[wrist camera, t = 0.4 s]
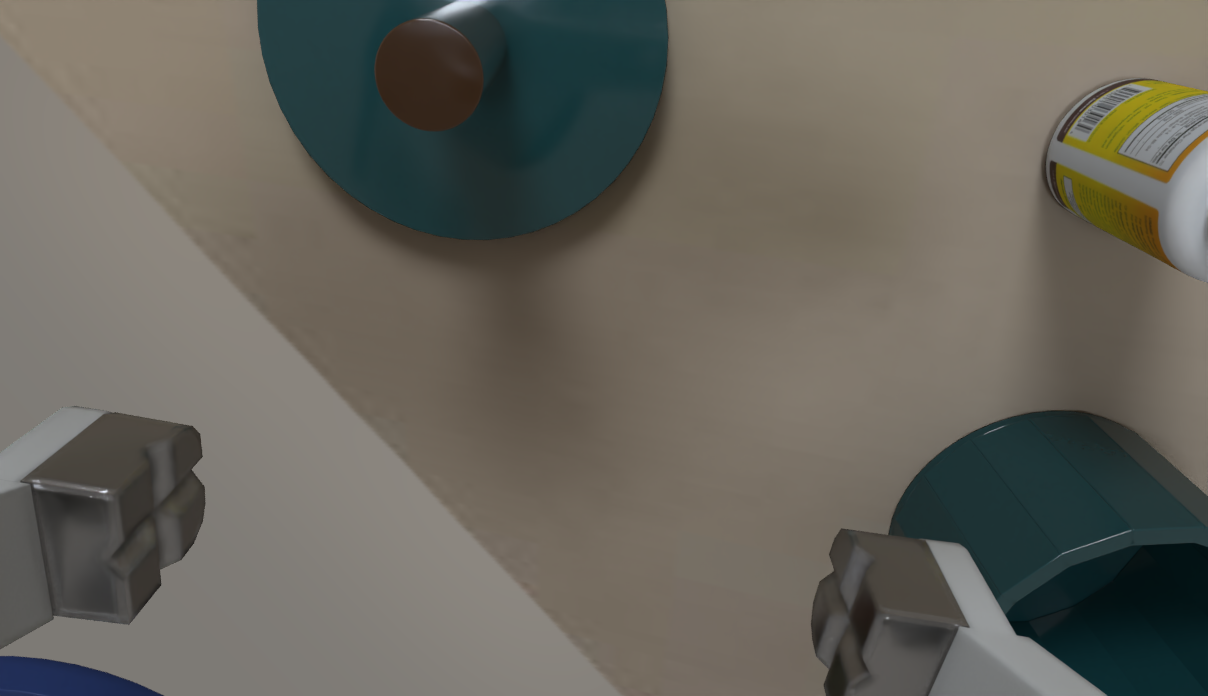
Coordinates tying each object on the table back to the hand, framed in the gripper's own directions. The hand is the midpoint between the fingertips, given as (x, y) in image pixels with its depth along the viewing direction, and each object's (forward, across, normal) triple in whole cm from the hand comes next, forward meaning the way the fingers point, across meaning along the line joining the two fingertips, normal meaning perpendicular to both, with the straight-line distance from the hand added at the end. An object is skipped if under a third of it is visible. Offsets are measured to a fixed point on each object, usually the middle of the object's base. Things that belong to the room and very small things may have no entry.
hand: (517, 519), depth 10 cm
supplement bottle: (+25, +20, +3) cm, 32 cm away
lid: (+23, -6, +3) cm, 23 cm away
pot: (+26, +24, -15) cm, 38 cm away
